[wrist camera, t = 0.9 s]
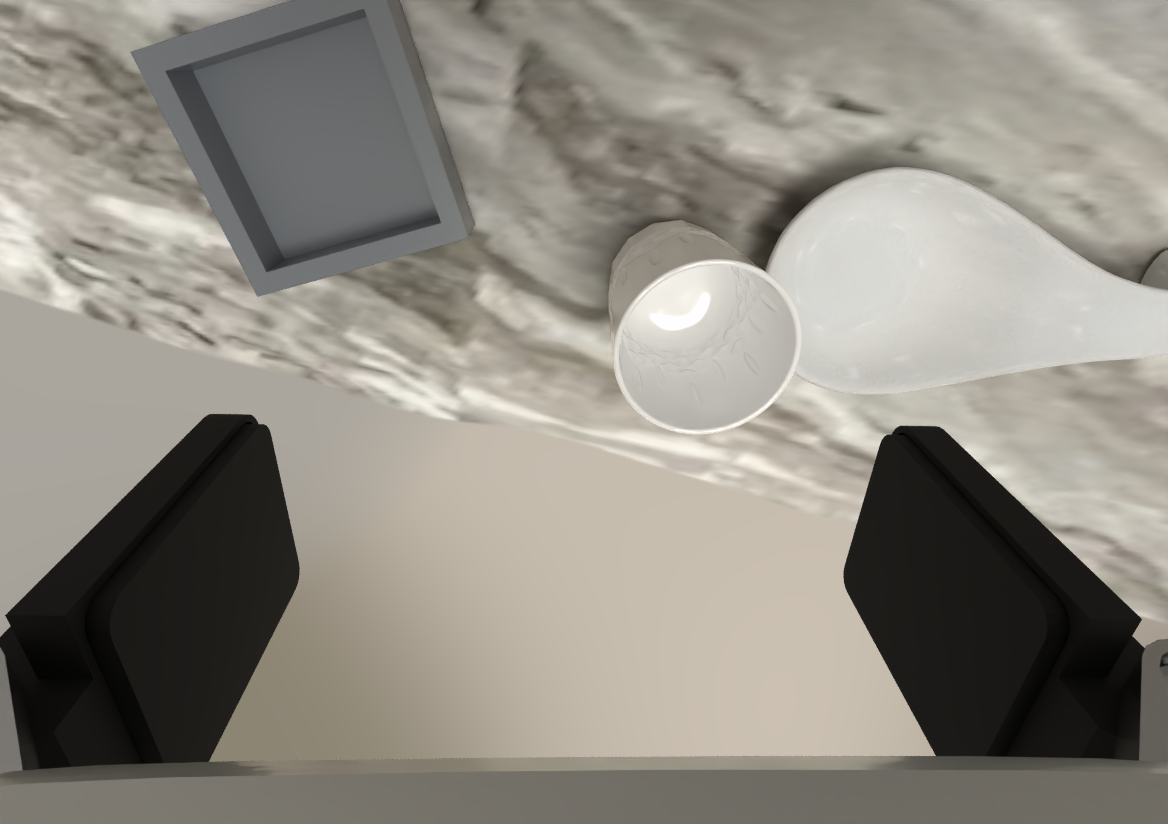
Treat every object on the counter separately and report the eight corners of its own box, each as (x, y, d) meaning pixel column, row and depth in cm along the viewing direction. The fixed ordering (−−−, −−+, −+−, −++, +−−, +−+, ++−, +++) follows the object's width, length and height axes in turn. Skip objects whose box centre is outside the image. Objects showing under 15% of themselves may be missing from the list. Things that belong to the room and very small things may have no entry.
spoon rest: (730, 363, 39) (765, 422, 32) (766, 152, 33) (816, 171, 27) (1109, 376, 40) (1214, 433, 34) (1203, 174, 35) (1349, 197, 28)
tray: (393, -18, 29) (376, -27, 26) (475, 224, 34) (468, 237, 31) (168, 53, 30) (130, 51, 27) (280, 279, 35) (257, 296, 32)
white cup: (568, 281, 36) (573, 354, 27) (676, 174, 33) (722, 216, 24) (662, 373, 39) (695, 465, 30) (769, 280, 36) (839, 351, 27)
